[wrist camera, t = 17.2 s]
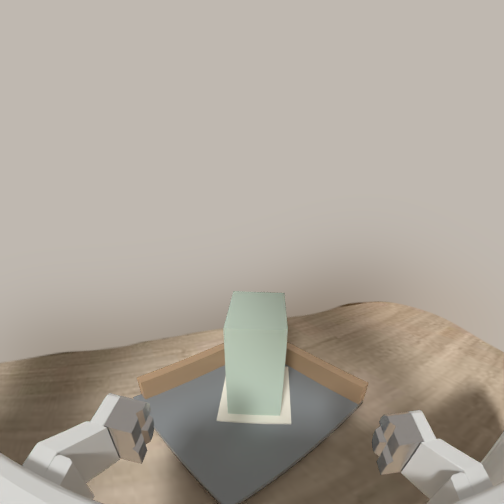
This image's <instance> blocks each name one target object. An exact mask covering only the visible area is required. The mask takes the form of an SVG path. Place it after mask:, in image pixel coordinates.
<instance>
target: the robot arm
mask: <svg viewBox="0 0 504 504" xmlns="http://www.w3.org/2000/svg"><path fill="white" fill-rule="evenodd" d="M150 411H151V408H150V404H149V403H147V402H143V401H139V400H135V399H131V398H127V397H123V396H119V395H115V394H112V393H109V394H108V395H107V396H106V397H105V399H104V400H103V402H102V403H101V405H100V407H99V408H98V410H97V411H96V413H95V415H94V416H93V418H92V419H91V421H90V422H88V421H85V422H83V423H81V424H79V425H77V426H75V427H72V428H70V429H68V430H66V431H64V432H61V433H59V434H57V435H55V436H52V437H50V438H48V439H45V440H43V441H41V442H38V443H37V444H36V446H35V447H34V448H33V450H32V451H31V453H30V454H29V456H28V457H27V459H26V460H25V462H24V463H23V465H22V466H21V465H20V464H18V463H16V462H15V461H13V460H11V459H10V458H8V457H6V456H5V455H3V454H2V453H0V504H103V503H100V502H98V501H95V500H93V498H94V494H93V492H92V491H91V490H90V488H89V487H88V485H87V484H86V483H87V482H88V481H90V480H91V479H93V478H94V477H96V476H97V475H99V474H100V473H101V472H103V471H104V470H106V469H107V468H109V467H110V466H111V465H113V464H114V463H116V462H117V461H118V460H120V458H121V459H124V460H128V461H132V462H137V463H141V464H142V462H143V460H144V457H145V454H146V452H147V448H146V445H145V444H147V443H149V442H150V441H151V439H152V436H153V431H154V421H153V418H152V417H151V416H150V415H149V414H150ZM379 423H380V425H381V426H380V427H378V428H377V429H376V430H375V432H374V434H373V439H372V447H373V451H374V453H375V454H376V455H378V456H379V458H378V460H377V464H378V468H379V471H380V475H383V474H390V473H396V472H401V473H402V474H403V475H404V476H405V477H406V478H407V479H408V480H409V481H410V482H411V483H412V484H414V485H415V486H416V487H417V488H418V489H419V490H420V491H421V492H422V493H423V494H425V495H426V496H427V497H428V498H429V499H430V500H429V501H428V502H427V503H426V504H504V481H503V482H501V483H499V484H497V485H495V486H493V484H492V482H491V480H490V478H489V477H488V475H487V473H486V471H485V469H484V467H483V465H482V464H481V463H480V462H478V461H476V460H475V459H473V458H471V457H469V456H468V455H466V454H464V453H463V452H461V451H459V450H458V449H456V448H454V447H453V446H451V445H449V444H448V443H446V442H445V441H443V440H441V439H440V438H439V439H436V437H435V435H434V433H433V431H432V429H431V427H430V425H429V423H428V422H427V420H426V418H425V416H424V414H423V412H422V411H421V410H416V411H410V412H402V413H394V414H386V415H383V416H382V417H381V419H380V421H379Z"/></svg>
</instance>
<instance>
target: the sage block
mask: <svg viewBox="0 0 504 504" xmlns="http://www.w3.org/2000/svg"><path fill="white" fill-rule="evenodd" d="M287 334H288V327H287V316H286V305H285V294H284V293H267V292H266V293H265V292H235V291H234V292H233V295H232V299H231V302H230V306H229V310H228V313H227V317H226V321H225V325H224V350H225V371H226V389H227V406H228V413H229V414H245V415H272V416H280V412H281V403H282V392H283V382H284V371H285V359H286V347H287Z"/></svg>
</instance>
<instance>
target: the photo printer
mask: <svg viewBox="0 0 504 504" xmlns="http://www.w3.org/2000/svg"><path fill="white" fill-rule="evenodd" d="M480 463H481V464H482V465H483V467H484V469H485V471H486V473H487V475H488V477H489V478H490V480H491V482H492V484H493V486H495V485H497V484H499V483H501V482H503V481H504V432H503V433H502V434H501V436H500V437H499V439H498V440H497V441H496V443H495V444H494V446H493V447H492V448H491V450H490V451H489V452H488V454H487V455H486V456H485V457H484V459H483V460H482V461H481V462H480Z"/></svg>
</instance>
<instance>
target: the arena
mask: <svg viewBox="0 0 504 504" xmlns="http://www.w3.org/2000/svg"><path fill="white" fill-rule="evenodd" d="M137 380H138V384H139V387H140V391H141V395H138V396H135V397H133V398H134V399H135V400H139V401H143V402H147V403H149V404H150V408H151V411H150V414H149V415H150V416H151V417H152V418H153V421H154V429H155V430H156V432H157V433H158V434H159V435H160V437H161V438H162V439H163V441H164V442H165V443H166V444H167V446H168V447H169V448H170V449H171V450H172V452H173V453H174V454H175V455H176V456H177V458H178V459H179V460H180V461H181V462H182V464H183V465H184V466H185V467H186V468H187V469H188V470H189V471H190V473H191V474H192V475H193V476H194V477H195V478H196V479H197V480H198V481H199V482H200V484H201V485H202V486H203V487H204V488H205V489H206V490H207V491H208V492H209V493H210V494H211V495H212V496H213V497H214V498H215V499H216V500H217V501H218V502H219V503H220V504H240V503H241V502H243V501H245V500H246V499H248V498H249V497H251V496H252V495H254V494H255V493H257V492H258V491H260V490H261V489H262V488H264V487H265V486H267V485H268V484H269V483H271V482H272V481H274V480H275V479H276V478H278V477H279V476H280V475H282V474H283V473H284V472H286V471H287V470H288V469H290V468H291V467H292V466H293V465H295V464H296V463H297V462H298V461H300V460H301V459H302V458H303V457H305V456H306V455H307V454H308V453H309V452H311V451H312V450H313V449H314V448H315V447H316V446H318V445H319V444H320V443H321V442H322V441H323V440H324V439H326V438H327V437H328V436H329V435H330V434H331V433H332V432H333V431H334V430H335V429H336V428H338V427H339V426H340V425H341V424H342V423H343V422H344V421H345V420H346V419H347V418H348V417H349V416H350V415H351V414H352V413H353V412H354V411H355V410H356V409H357V408H358V407H359V406H360V405H361V404H362V402H363V399H364V396H365V393H366V390H367V386H368V383H367V382H365V381H363V380H361V379H359V378H357V377H355V376H353V375H351V374H349V373H347V372H345V371H343V370H341V369H339V368H337V367H335V366H333V365H331V364H329V363H327V362H325V361H323V360H321V359H319V358H317V357H315V356H313V355H311V354H310V353H308V352H306V351H304V350H302V349H300V348H298V347H296V346H294V345H293V344H291V343H289V342H287V347H286V359H285V371H284V382H283V392H282V403H281V412H280V416H272V415H245V414H229V413H228V406H227V389H226V371H225V350H224V343H222V344H220V345H218V346H215V347H213V348H211V349H208V350H206V351H204V352H201V353H199V354H196V355H194V356H191V357H189V358H187V359H184V360H182V361H179V362H177V363H174V364H171V365H169V366H166V367H164V368H161V369H159V370H156V371H153V372H151V373H148V374H145V375H143V376H140V377H137Z"/></svg>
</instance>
